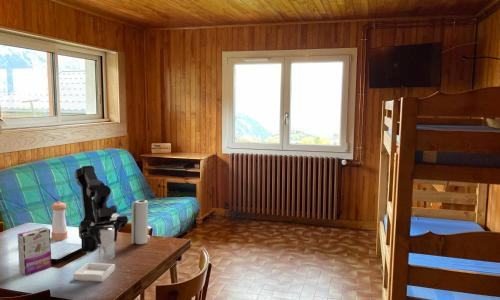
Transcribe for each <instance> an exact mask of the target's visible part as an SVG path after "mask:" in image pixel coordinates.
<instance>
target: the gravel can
mask: <svg viewBox="0 0 500 300" xmlns="http://www.w3.org/2000/svg"><path fill="white" fill-rule="evenodd" d="M99 239H100V244H98V246H99V247H98V260H100V261H109V260H113V259H115V257H116V256H115V255H116V254H115V253H116V249H115V247H116V246H115V245H116V242H115V228H114V227H110V226H107V227H104V226H102V227H101V228H99Z"/></svg>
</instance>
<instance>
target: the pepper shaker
mask: <svg viewBox="0 0 500 300" xmlns="http://www.w3.org/2000/svg"><path fill="white" fill-rule="evenodd" d="M66 208H67V204H66V203H65V202H61V201H56V202H54V203H52V204H51V206H50V209H51V210H52V223H51V231H50V240H51V241H63V240H66V239H68V230H67V221H66Z"/></svg>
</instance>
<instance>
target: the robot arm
mask: <svg viewBox="0 0 500 300" xmlns="http://www.w3.org/2000/svg"><path fill="white" fill-rule="evenodd" d="M74 179H75V180H76V184H77V185H78V186H79V188H80V192H81V202H82V212H83V219H82V220H81V221H80V222H79V225H78V237H79V239H80V240H81V248H83V249H82V250H81V251H82V252H94V251H96V250H97V249H99V244H100V239H99V228H101V227H104V226H109V225H113V227H114V228H115V243H116V242H117V239H118V234H117V233H119V230H120V229H121V228H126V227H127V225H128V221H129V219H128V216H127V215H119V216H118V217H117V219H116V220H111V221H110V219H111V218H112V216H111V215H113V214H115V213H116V214H118V210H117V209H118V208H117V206H116V204H114V205H111V206H109V207H108V204H107V202H109V201H108V200H109V198H110V196H111V192H112V190H111V188H110V187H109V186H108V185H106V184H105V182H104V181H103V180H99V178H98V175H97V174H96V171H95V166H94V165H83V166H81V167H79V168H78V169H75V171H74ZM81 251H80V252H81Z"/></svg>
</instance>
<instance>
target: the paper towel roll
mask: <svg viewBox="0 0 500 300" xmlns="http://www.w3.org/2000/svg"><path fill="white" fill-rule="evenodd" d="M148 204H149V203H148V200H146V199H138V200H135V201H133V202H131V222H130V223H131V224H130V225H131V239H130V240H131V242H130V243H131V245H133V244H136V245H145V244H147V243H148V240H149V239H148V234H149V233H148V230H149V229H148V226H149V225H148V224H149V223H148V219H149V217H148V216H149V215H148V214H149V213H148V212H149V205H148Z"/></svg>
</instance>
